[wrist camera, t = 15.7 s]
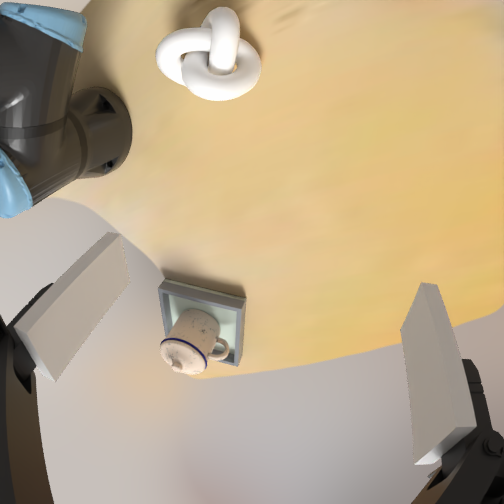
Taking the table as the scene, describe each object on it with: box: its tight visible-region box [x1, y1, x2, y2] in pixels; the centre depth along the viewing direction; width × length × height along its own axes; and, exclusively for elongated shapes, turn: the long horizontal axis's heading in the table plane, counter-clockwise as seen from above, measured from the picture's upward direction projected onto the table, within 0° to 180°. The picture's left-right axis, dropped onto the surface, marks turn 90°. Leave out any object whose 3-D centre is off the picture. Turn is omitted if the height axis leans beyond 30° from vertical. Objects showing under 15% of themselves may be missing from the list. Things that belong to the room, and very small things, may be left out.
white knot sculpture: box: [155, 7, 262, 101], centre depth 31 cm, size 11×12×9 cm
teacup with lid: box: [160, 309, 229, 374], centre depth 56 cm, size 12×9×12 cm
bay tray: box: [158, 279, 246, 367], centre depth 60 cm, size 16×16×3 cm
